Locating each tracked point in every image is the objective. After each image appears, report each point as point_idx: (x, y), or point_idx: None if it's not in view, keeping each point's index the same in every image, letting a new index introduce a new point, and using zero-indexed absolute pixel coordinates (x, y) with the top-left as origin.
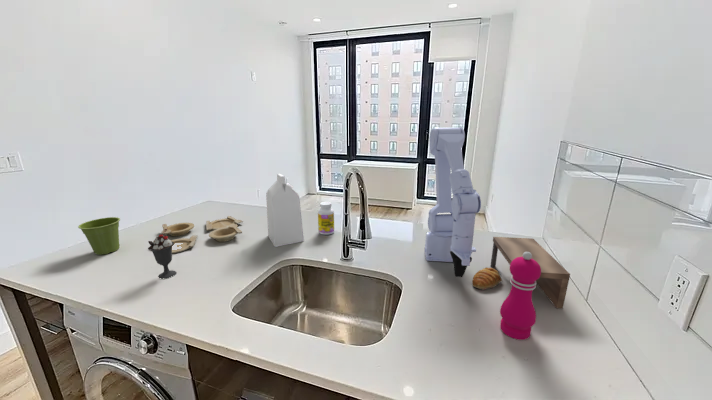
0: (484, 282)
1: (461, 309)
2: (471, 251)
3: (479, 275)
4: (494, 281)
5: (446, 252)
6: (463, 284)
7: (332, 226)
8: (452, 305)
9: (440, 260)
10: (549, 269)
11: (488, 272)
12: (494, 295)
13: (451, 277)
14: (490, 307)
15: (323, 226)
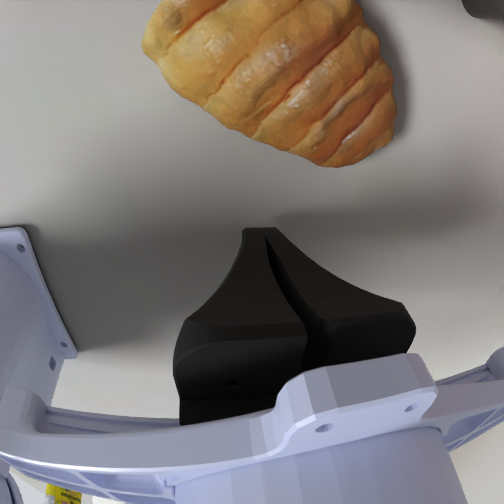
0: (390, 104)
1: (474, 253)
2: (449, 418)
3: (310, 115)
4: (363, 15)
5: (12, 318)
6: (306, 208)
7: (63, 488)
8: (449, 279)
9: (52, 307)
10: None
11: (292, 27)
12: (421, 61)
13: (224, 264)
14: (491, 136)
15: (80, 498)
